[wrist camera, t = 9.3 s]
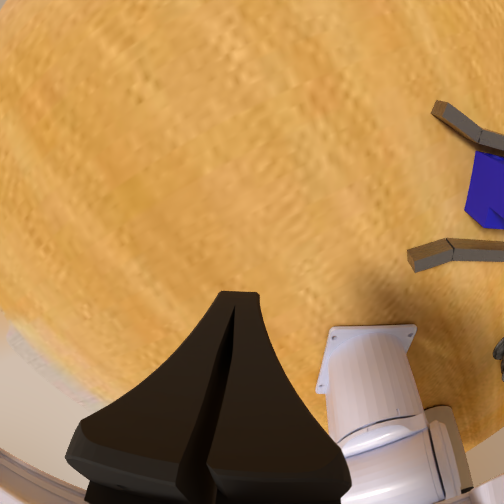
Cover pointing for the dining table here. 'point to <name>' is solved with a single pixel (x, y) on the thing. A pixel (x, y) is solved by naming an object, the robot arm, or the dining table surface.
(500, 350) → the salt shaker
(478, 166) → the blue cradle block
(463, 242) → the rail
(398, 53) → the dining table surface
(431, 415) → the travel mug
